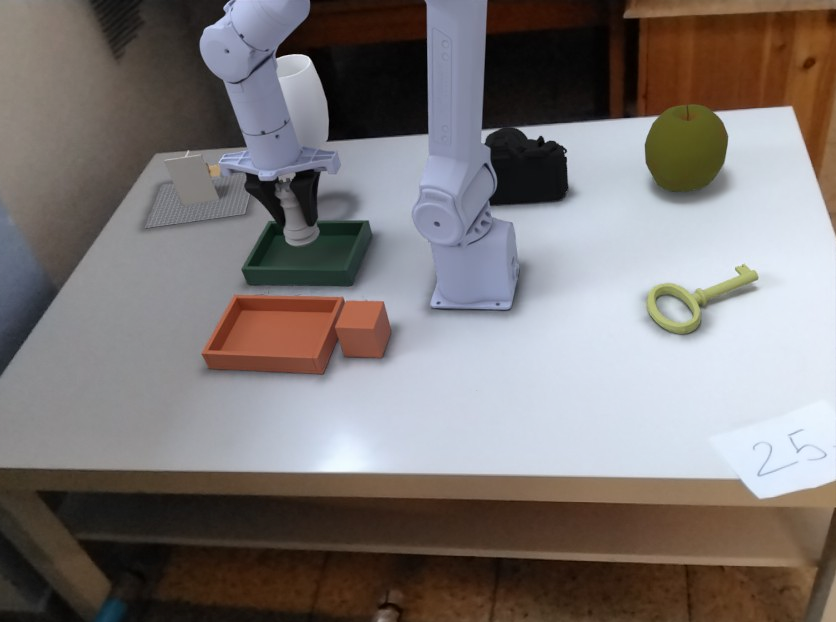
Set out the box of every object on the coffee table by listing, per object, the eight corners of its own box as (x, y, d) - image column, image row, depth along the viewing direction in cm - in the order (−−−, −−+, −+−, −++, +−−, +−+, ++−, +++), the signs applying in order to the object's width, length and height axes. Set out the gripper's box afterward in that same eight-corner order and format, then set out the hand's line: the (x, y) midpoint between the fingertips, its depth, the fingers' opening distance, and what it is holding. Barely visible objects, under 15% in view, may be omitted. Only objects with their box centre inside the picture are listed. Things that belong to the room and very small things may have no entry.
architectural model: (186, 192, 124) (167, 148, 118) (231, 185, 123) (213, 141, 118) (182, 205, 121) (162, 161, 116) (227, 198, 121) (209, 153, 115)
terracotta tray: (348, 312, 98) (343, 296, 97) (323, 374, 92) (317, 358, 90) (240, 309, 102) (234, 294, 100) (208, 368, 95) (201, 353, 94)
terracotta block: (391, 330, 95) (384, 300, 92) (382, 358, 92) (373, 328, 89) (355, 329, 96) (346, 300, 93) (344, 356, 93) (334, 327, 90)
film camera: (570, 162, 113) (567, 101, 106) (568, 204, 106) (565, 142, 100) (461, 169, 116) (452, 110, 110) (452, 210, 110) (442, 150, 103)
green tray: (373, 235, 108) (368, 219, 107) (351, 286, 102) (346, 270, 100) (274, 235, 112) (268, 220, 110) (247, 284, 105) (240, 269, 104)
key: (761, 286, 90) (763, 270, 89) (680, 341, 86) (681, 326, 85) (710, 257, 95) (711, 242, 93) (631, 308, 91) (631, 294, 90)
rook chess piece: (293, 253, 102) (274, 198, 97) (281, 236, 105) (262, 182, 100) (325, 239, 103) (309, 184, 98) (313, 222, 106) (296, 168, 101)
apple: (678, 215, 101) (683, 135, 93) (627, 183, 107) (628, 105, 100) (740, 183, 103) (751, 102, 96) (687, 153, 110) (692, 75, 102)
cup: (363, 208, 113) (326, 63, 98) (318, 232, 111) (272, 86, 96) (338, 188, 118) (298, 46, 103) (294, 210, 116) (247, 68, 101)
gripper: (193, 143, 92) (233, 241, 102) (314, 139, 89) (343, 241, 98) (217, 110, 97) (253, 207, 107) (333, 105, 93) (359, 206, 103)
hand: (298, 221), depth 103 cm, fingers closed on rook chess piece, 3 cm apart
